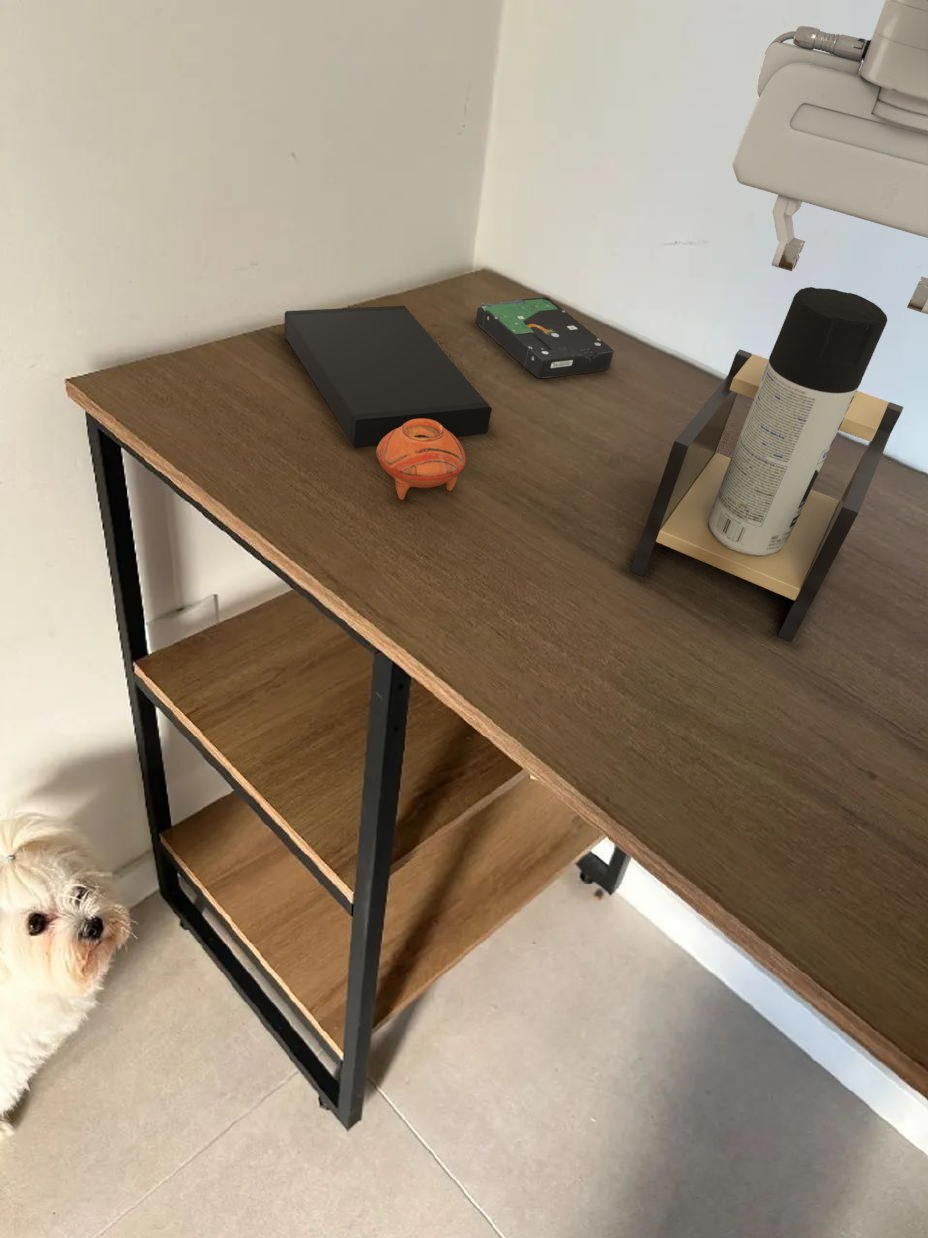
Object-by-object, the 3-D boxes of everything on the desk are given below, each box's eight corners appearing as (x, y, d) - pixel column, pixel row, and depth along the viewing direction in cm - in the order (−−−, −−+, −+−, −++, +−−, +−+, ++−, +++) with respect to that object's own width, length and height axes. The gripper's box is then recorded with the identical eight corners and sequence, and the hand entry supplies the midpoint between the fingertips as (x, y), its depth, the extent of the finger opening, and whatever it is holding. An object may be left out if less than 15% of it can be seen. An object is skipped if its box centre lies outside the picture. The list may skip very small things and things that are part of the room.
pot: (444, 521, 81) (435, 451, 77) (367, 507, 84) (355, 438, 80) (483, 478, 86) (478, 410, 82) (410, 466, 90) (401, 400, 85)
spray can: (793, 564, 75) (905, 331, 62) (712, 553, 75) (808, 316, 62) (774, 516, 80) (874, 292, 67) (698, 506, 80) (784, 277, 67)
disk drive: (610, 372, 109) (542, 315, 117) (616, 350, 107) (547, 294, 116) (537, 382, 104) (472, 322, 113) (542, 359, 102) (476, 300, 111)
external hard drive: (353, 447, 88) (355, 419, 86) (284, 336, 103) (284, 310, 101) (487, 433, 94) (492, 406, 92) (403, 329, 109) (405, 305, 107)
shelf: (831, 549, 87) (903, 406, 77) (791, 642, 76) (870, 489, 66) (687, 491, 91) (739, 348, 81) (629, 571, 80) (681, 417, 70)
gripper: (762, 21, 56) (693, 253, 65) (1128, 108, 50) (996, 349, 59) (787, 14, 60) (719, 232, 69) (1126, 93, 54) (1003, 320, 63)
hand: (849, 287), depth 64 cm, fingers open, 8 cm apart
